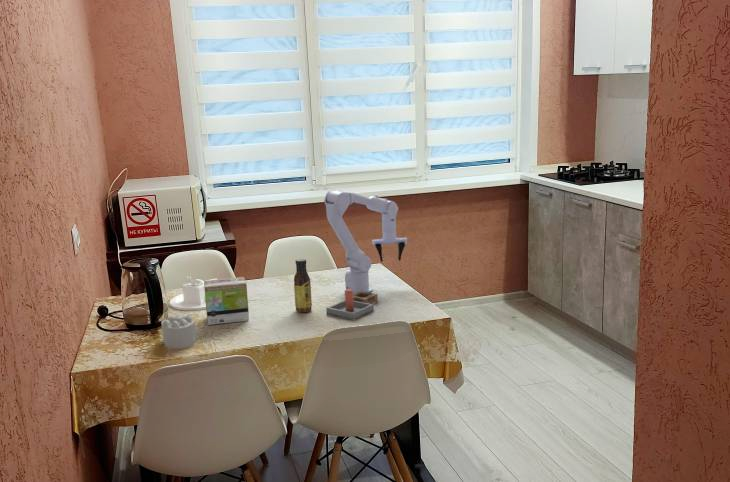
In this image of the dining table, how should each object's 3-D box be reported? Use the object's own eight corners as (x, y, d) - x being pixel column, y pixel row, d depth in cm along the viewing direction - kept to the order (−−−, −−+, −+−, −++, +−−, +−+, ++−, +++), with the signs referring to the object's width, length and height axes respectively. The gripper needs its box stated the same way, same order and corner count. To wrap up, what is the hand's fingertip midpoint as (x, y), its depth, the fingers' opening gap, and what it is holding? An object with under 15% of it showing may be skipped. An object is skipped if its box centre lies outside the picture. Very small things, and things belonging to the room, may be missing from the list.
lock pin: (344, 311, 244) (343, 290, 242) (349, 309, 246) (348, 288, 245) (350, 312, 242) (349, 292, 240) (355, 310, 244) (354, 290, 243)
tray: (326, 314, 244) (326, 307, 243) (346, 305, 253) (346, 299, 252) (353, 320, 236) (353, 313, 235) (373, 310, 245) (373, 304, 245)
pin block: (349, 303, 255) (348, 296, 254) (361, 298, 261) (361, 291, 260) (365, 307, 250) (364, 299, 249) (377, 301, 256) (377, 294, 255)
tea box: (208, 326, 237) (204, 287, 233) (207, 317, 246) (203, 280, 243) (249, 321, 240) (246, 282, 237) (247, 312, 250) (243, 275, 247)
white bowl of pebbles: (191, 333, 230) (189, 310, 228) (200, 345, 219) (197, 320, 217) (161, 339, 226) (158, 315, 224) (168, 351, 214) (165, 326, 212)
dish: (197, 315, 251) (194, 286, 248) (157, 304, 266) (154, 278, 263) (244, 297, 270) (242, 271, 267) (205, 289, 285) (202, 264, 282)
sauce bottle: (309, 313, 245) (306, 262, 241) (293, 313, 247) (289, 262, 242) (314, 307, 252) (311, 257, 247) (298, 307, 253) (295, 257, 249)
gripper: (372, 231, 269) (374, 263, 272) (407, 229, 270) (408, 261, 273) (371, 228, 276) (372, 259, 279) (405, 226, 277) (406, 257, 280)
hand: (390, 260), depth 276 cm, fingers open, 7 cm apart
